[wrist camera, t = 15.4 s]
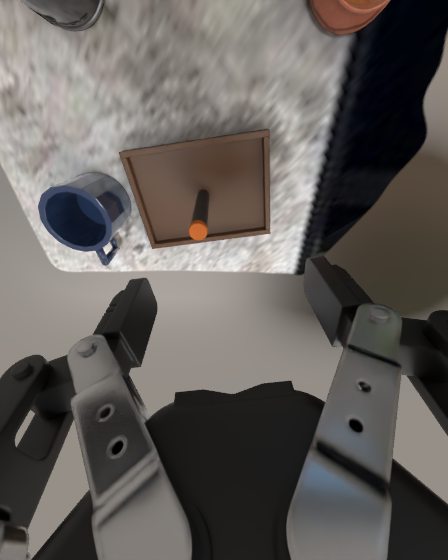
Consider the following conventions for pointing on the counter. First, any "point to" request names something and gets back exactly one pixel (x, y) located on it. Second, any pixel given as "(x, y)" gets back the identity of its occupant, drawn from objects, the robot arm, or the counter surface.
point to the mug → (86, 213)
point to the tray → (202, 187)
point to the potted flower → (346, 13)
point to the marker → (200, 216)
